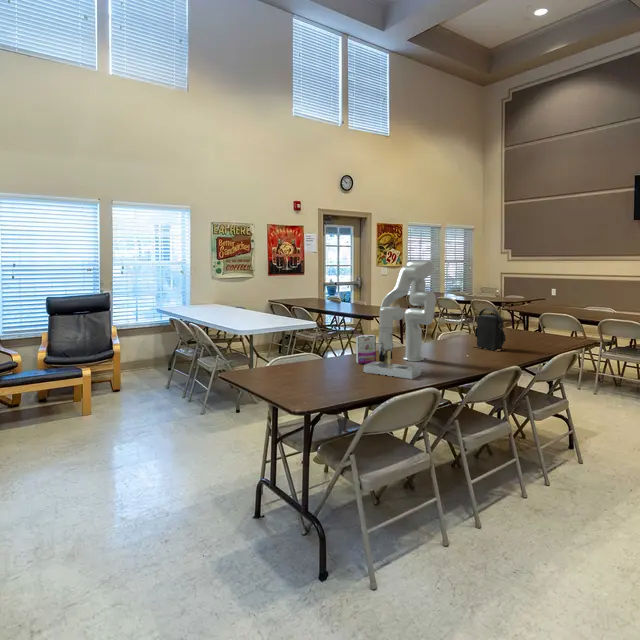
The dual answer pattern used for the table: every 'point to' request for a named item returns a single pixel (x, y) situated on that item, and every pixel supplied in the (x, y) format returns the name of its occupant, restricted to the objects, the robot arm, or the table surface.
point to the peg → (387, 356)
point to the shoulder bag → (490, 331)
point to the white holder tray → (392, 370)
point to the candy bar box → (365, 349)
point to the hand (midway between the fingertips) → (385, 360)
